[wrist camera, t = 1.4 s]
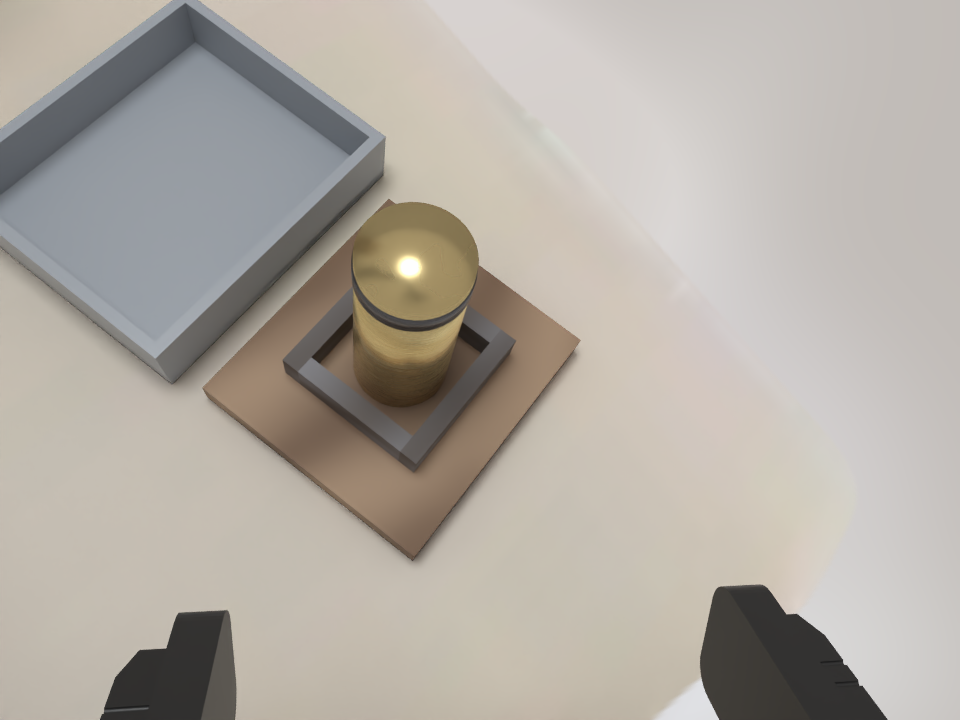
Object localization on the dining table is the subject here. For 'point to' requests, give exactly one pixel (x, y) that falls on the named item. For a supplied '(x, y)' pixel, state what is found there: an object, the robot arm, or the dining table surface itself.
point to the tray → (178, 181)
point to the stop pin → (409, 300)
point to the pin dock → (377, 427)
